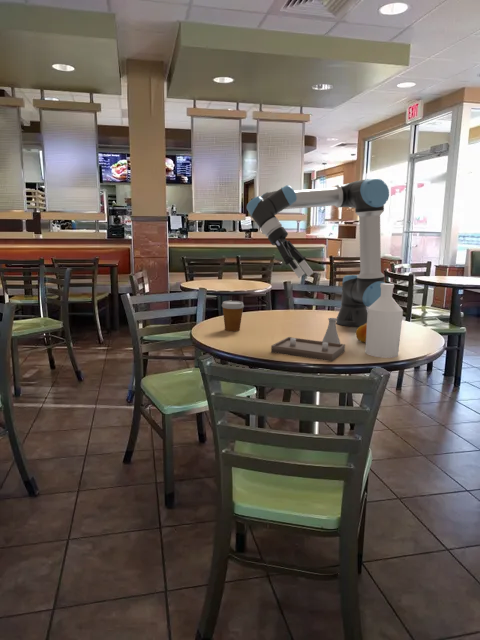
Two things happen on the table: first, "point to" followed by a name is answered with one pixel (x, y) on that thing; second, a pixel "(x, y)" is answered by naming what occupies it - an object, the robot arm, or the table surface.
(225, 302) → the disposable coffee cup
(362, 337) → the fruit
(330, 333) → the flask
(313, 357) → the caddy tray
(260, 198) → the robot arm
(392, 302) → the bottle
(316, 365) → the table surface
